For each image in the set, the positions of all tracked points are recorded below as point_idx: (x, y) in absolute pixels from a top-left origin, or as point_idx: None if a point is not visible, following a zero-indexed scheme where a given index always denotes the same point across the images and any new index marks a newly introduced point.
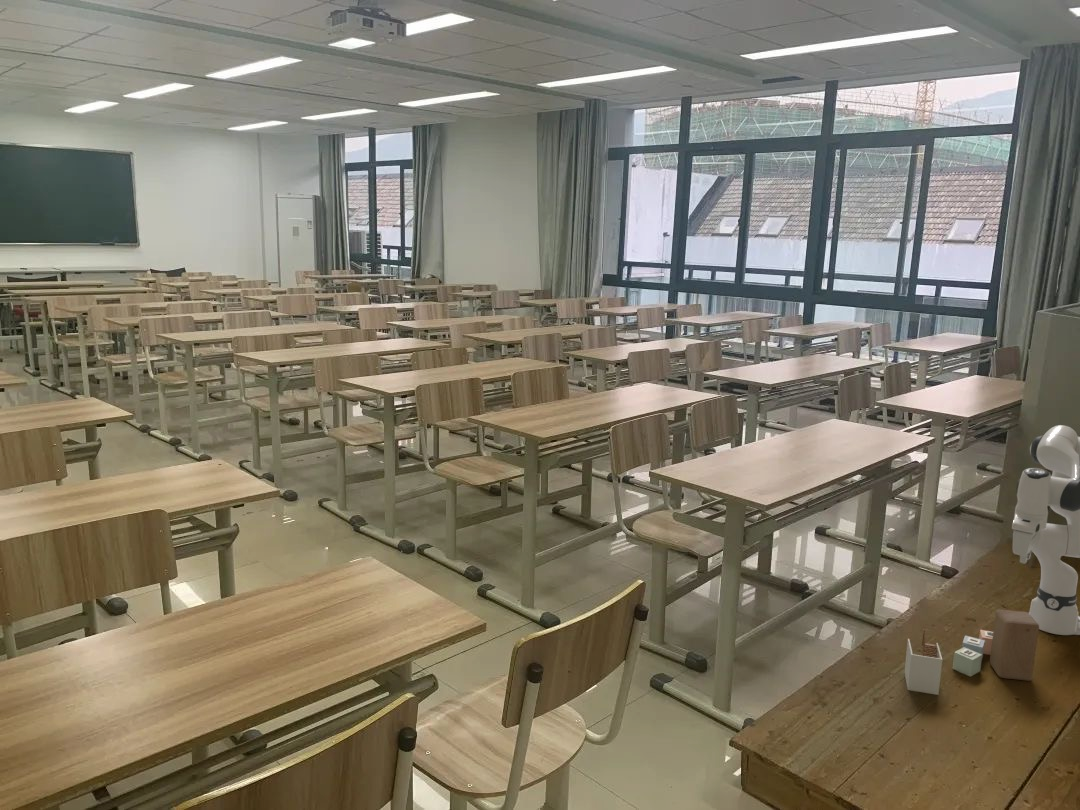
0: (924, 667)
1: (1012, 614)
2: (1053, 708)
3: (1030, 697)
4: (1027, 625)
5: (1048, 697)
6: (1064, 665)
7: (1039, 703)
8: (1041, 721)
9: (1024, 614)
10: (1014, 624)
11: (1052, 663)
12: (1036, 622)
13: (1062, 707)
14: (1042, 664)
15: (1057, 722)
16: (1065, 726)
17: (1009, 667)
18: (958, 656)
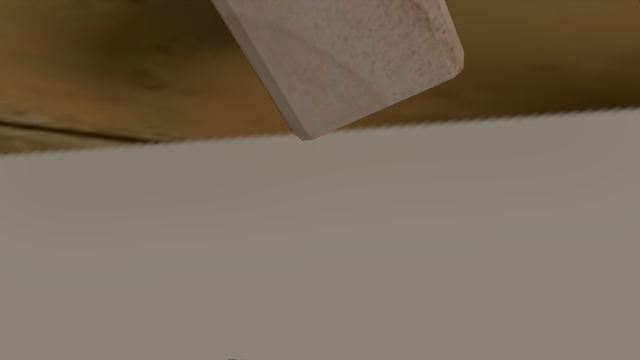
0: None
1: (352, 3)
2: (164, 100)
3: (182, 33)
4: (268, 91)
5: (228, 81)
6: (513, 99)
7: (163, 62)
8: (48, 80)
9: (399, 65)
10: (229, 29)
11: (509, 65)
12: (327, 130)
13: (193, 120)
14: (481, 37)
15: (84, 117)
16: (81, 136)
17: None
18: None
